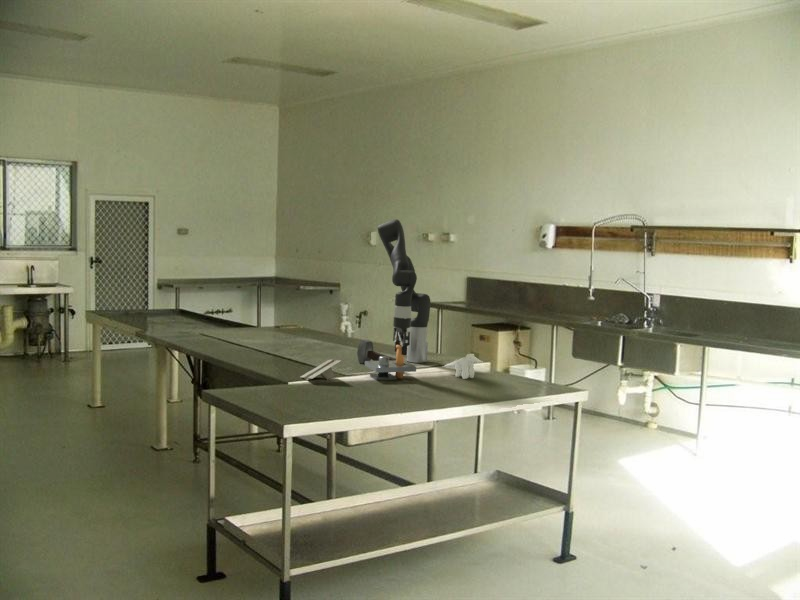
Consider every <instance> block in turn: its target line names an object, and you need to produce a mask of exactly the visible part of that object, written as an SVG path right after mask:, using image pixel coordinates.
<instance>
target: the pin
mask: <svg viewBox="0 0 800 600" xmlns="http://www.w3.org/2000/svg"><path fill="white" fill-rule="evenodd" d="M396 348H397V352H396V358H395V359H396V365H404V361H405V355H402V354H401V351H402V344H400V345H396ZM394 376H395V377H397V378H396V379H404V372H395V375H394Z"/></svg>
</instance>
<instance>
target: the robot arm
mask: <svg viewBox="0 0 800 600" xmlns="http://www.w3.org/2000/svg"><path fill="white" fill-rule="evenodd" d="M377 232H378V236H379V238H380V241H381V242H382V244H383V247H384V249H385V251H386V253H387V255H388V257H389V260H390V263H391V267H392V268H393V269H392V270H393V271H392V277H391V282H392V283H393V285H394V286H395V287H400V290H401V291H398V292H396V293H395V296H394V297H395V298H394V299H395V300H394V309H393V324H392V325H393V326H392V327H394V328H393V335H392V336H393V337H392V341H393V342H394V352H396V353H397V348H396V345H402V351H401V354H402V355H404V356H406V362H407V363H417V364H418V363H423V364H424V363H427V362H428V352H429V350H428V349H429V342H427V340H428V339H427V337H428V323H429V322H430V321H429V320H430V312H431V297H430V295H429V294H427V293H419V292H416V291H415V286H416V283H417V279H418V278H417V273H416V270H415V266H414V264H413V262H412V259H411V258H410V257H409V256H408V255H407V250H406V241H405V238H406V237H405V231H404V228H403V225H402V223H401V221H400V220H399V219H396V218H395V219H392V220H389V221H387V222H383V223H381V224H379V225H378V226H377ZM395 241H396V242H395ZM394 242H395V244H394V245H393V243H394ZM413 312H414V313H417V315H416V317H415V318H412V313H413Z"/></svg>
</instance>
